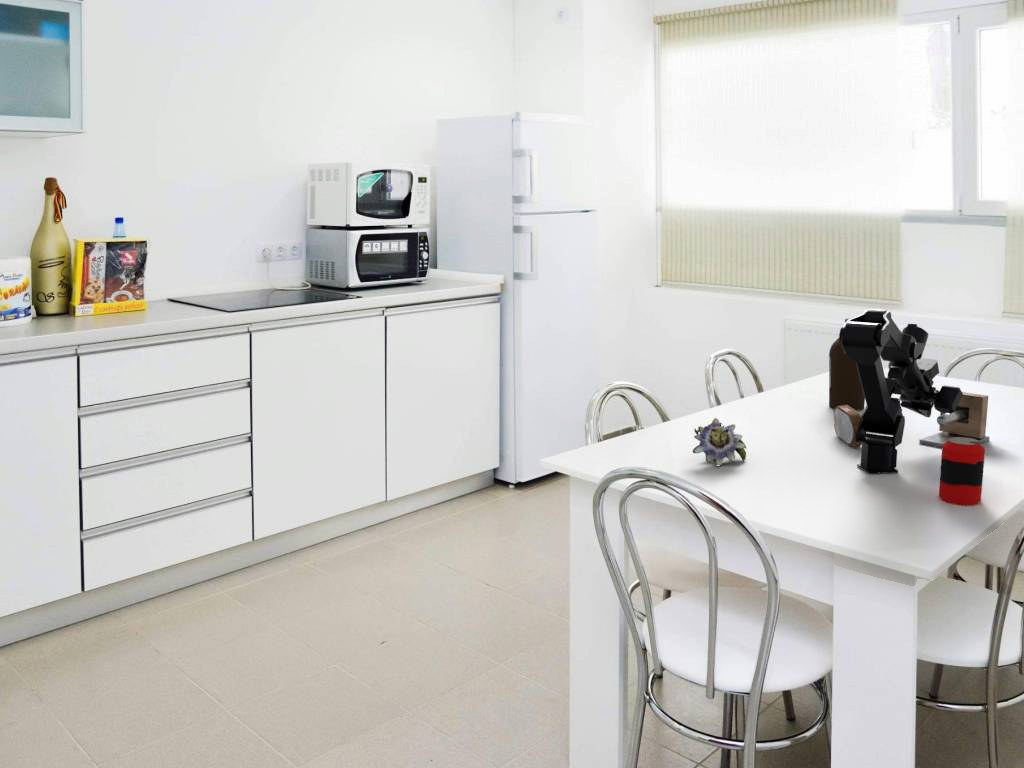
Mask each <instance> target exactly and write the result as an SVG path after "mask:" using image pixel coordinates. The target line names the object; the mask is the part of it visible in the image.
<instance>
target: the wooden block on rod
mask: <svg viewBox="0 0 1024 768" xmlns="http://www.w3.org/2000/svg"><path fill="white" fill-rule="evenodd" d="M962 393H963V396H962V398H961V400H960V402H959V404H958V406H962V407H968V408H970V410H969V421H963V420H959V421H956V422H953V423H950V424H947V425H943V426H941V425H939V427H938V428H939V430H938V431H939V432H948V433H954V434H959V435H965V436H970V437H976V438H982V437H985V436H986V433H985V429H986V428H987V420H986V417H987V418H988V408H987V404H988V405H989V395H987V396H986V395H985V394H980V395H979V394H978V393H973V392H972V393H973V394H972V393H971V392H966V391H962ZM958 406H957V408H956V410H955V411H957V410H958ZM939 413H940V414H939V416H941V415H944V414H947V413H943V412H939ZM986 430H987V429H986Z"/></svg>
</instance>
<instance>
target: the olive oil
mask: <svg viewBox="0 0 1024 768" xmlns="http://www.w3.org/2000/svg"><path fill="white" fill-rule="evenodd" d="M849 319H850V318H845V319H844V324H845V323H846V322H847V320H849ZM828 353H829V354H828V365H829V366H828V372H829V373H828V377H829V378H828V381H829V382H828V387H829V388H828V393H829V394H828V398H829V399H828V406H829V407H830V408H831V409H833V408H836V407H837V406H843V405H848V406H850V407H851V408H853V409H854V410H856V411H861V410H864V409H865V405H866V404H865V403H866V400H865V396H864V392H863V388H862V384H861V380H860V376H859V372H858V368H857V364H856V362H855V361H854V360H852V359H851V358H850V357H848V356H847V355H846V354H845V352H844V349H843V347H842V344H841V343H840V340H839V337H838V338H837V339H836V340H835V341H833V343H832V344H831V346H830V349H829V352H828Z"/></svg>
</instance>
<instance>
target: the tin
mask: <svg viewBox="0 0 1024 768" xmlns="http://www.w3.org/2000/svg"><path fill="white" fill-rule="evenodd" d="M861 416H862V415H861V414H860V412H859V411H858V410H854V409H853V408H851V407H850V406H848V405H843V406H837V407H836V408H835V409H833V425H834V426H833V427H834V431H835V435H836V436H837V438H838V437H839V438H838V439H840V440H841V441H842V442H843V441H844V442H843V443H844V444H846V445H847V444H848V445H849V447H862V442H856V438H855V437H856V431H857V428H858V424H859V421H860V417H861ZM848 445H847V446H848Z"/></svg>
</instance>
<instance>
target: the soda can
mask: <svg viewBox="0 0 1024 768" xmlns="http://www.w3.org/2000/svg"><path fill="white" fill-rule="evenodd" d="M985 453H986V449H985V447H984V446H983V445H982V444H981V443H980V441H978V440H976V439H971V438H964V437H953V438H949V439H948V440H947V441H946V442H945V443H944V444H943V445H942V448H941V457H940V458H941V459H940V460H941V461H940V470H939V471H940V472H939V487H938V498H939V499H940V500H941V501H943V502H944V501H945V502H944V503H948V504H950V503H951V505H955V504H957V505H956V506H976V505H979V503H980V502H981V501H982V490H983V481H984V480H983V479H984V465H985V455H986V454H985ZM975 504H976V505H975Z"/></svg>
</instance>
